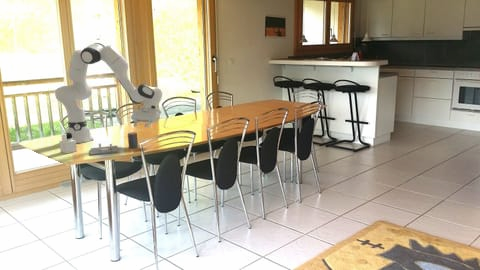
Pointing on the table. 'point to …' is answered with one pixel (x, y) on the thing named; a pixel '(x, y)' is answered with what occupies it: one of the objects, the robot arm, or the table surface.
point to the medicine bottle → (67, 143)
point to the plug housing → (132, 140)
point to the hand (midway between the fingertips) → (140, 126)
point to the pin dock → (103, 150)
